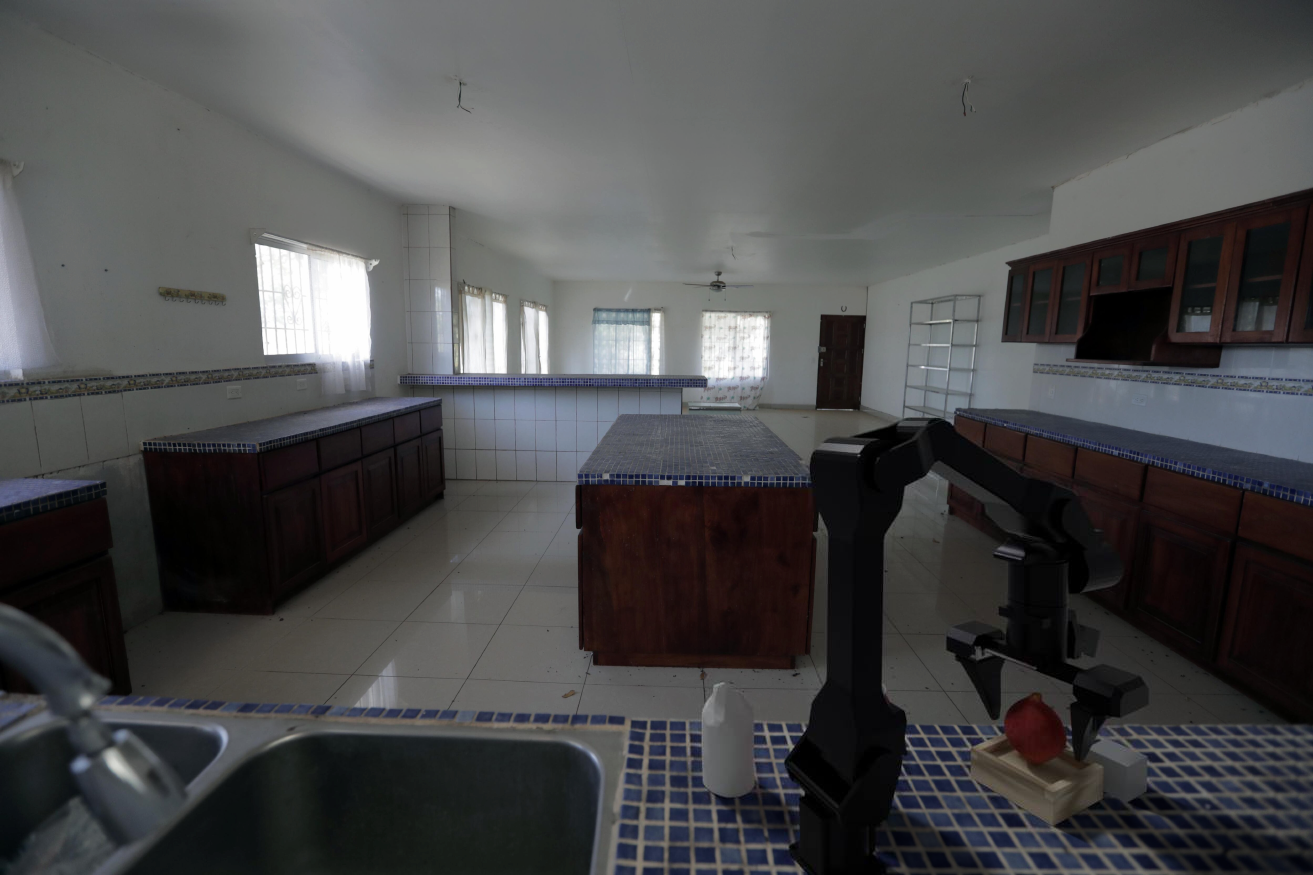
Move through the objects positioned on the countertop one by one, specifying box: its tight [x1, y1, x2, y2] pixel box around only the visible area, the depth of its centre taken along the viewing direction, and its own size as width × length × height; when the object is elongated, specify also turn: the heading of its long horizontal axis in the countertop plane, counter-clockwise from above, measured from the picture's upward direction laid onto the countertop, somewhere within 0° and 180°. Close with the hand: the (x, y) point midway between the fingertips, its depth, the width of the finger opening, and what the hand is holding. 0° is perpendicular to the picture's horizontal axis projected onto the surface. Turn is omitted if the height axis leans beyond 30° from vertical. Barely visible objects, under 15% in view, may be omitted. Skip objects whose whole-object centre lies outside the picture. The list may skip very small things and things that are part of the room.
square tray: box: [970, 733, 1104, 827], centre depth 66 cm, size 9×9×4 cm
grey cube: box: [1086, 738, 1148, 804], centre depth 66 cm, size 4×4×4 cm
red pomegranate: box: [1003, 691, 1068, 766], centre depth 66 cm, size 6×6×8 cm
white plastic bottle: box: [701, 682, 755, 798], centre depth 67 cm, size 6×12×6 cm
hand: (1035, 738), depth 66 cm, fingers open, 9 cm apart
